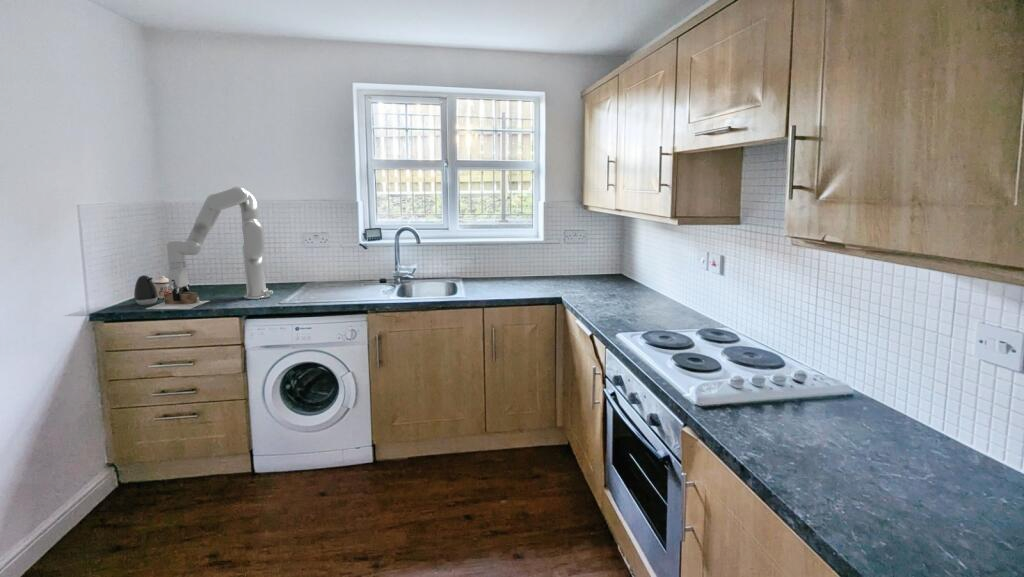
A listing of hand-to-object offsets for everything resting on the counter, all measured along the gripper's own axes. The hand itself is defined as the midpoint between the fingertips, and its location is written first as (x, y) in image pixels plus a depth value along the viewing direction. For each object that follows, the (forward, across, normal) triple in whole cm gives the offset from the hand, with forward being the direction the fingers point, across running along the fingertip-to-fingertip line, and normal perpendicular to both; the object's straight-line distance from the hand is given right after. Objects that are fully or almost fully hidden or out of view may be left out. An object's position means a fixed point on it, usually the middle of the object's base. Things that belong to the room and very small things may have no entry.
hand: (181, 299), depth 286 cm
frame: (+2, 0, 0) cm, 2 cm away
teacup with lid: (+3, -18, -18) cm, 25 cm away
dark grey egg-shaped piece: (+3, +2, -17) cm, 17 cm away
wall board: (+3, +4, +1) cm, 5 cm away
